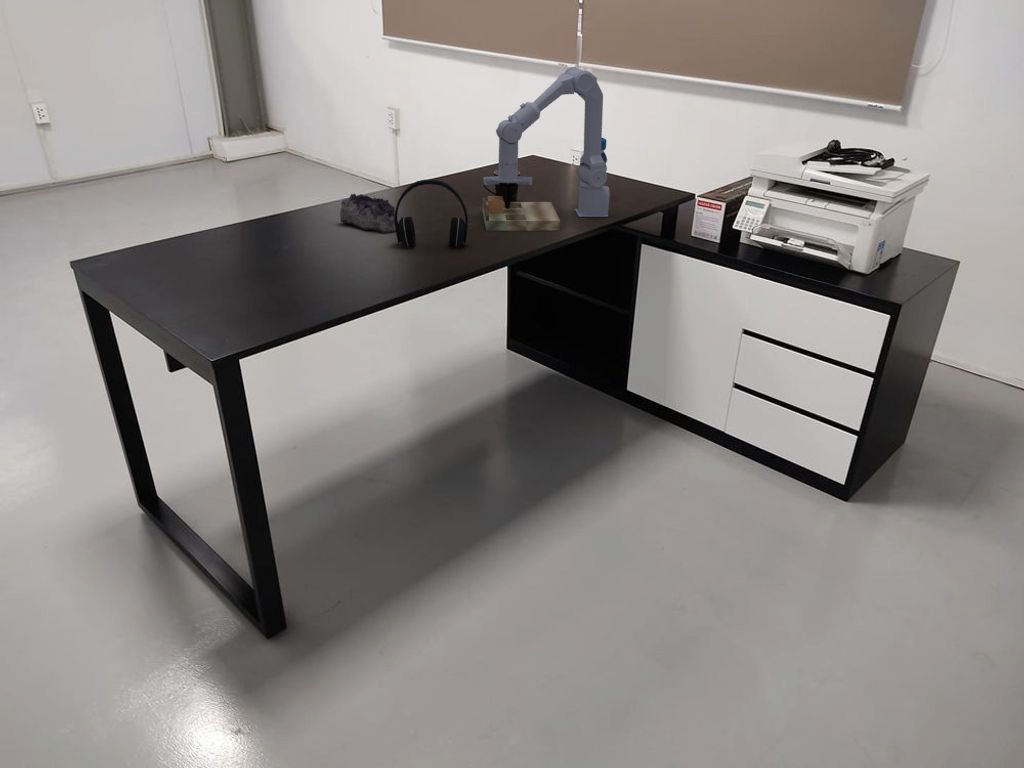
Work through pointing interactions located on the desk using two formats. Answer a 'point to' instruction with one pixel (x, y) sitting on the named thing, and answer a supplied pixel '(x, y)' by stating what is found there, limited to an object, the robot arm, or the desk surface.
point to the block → (495, 204)
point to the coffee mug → (498, 190)
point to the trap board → (522, 217)
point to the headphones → (406, 226)
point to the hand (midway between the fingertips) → (507, 207)
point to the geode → (368, 213)
